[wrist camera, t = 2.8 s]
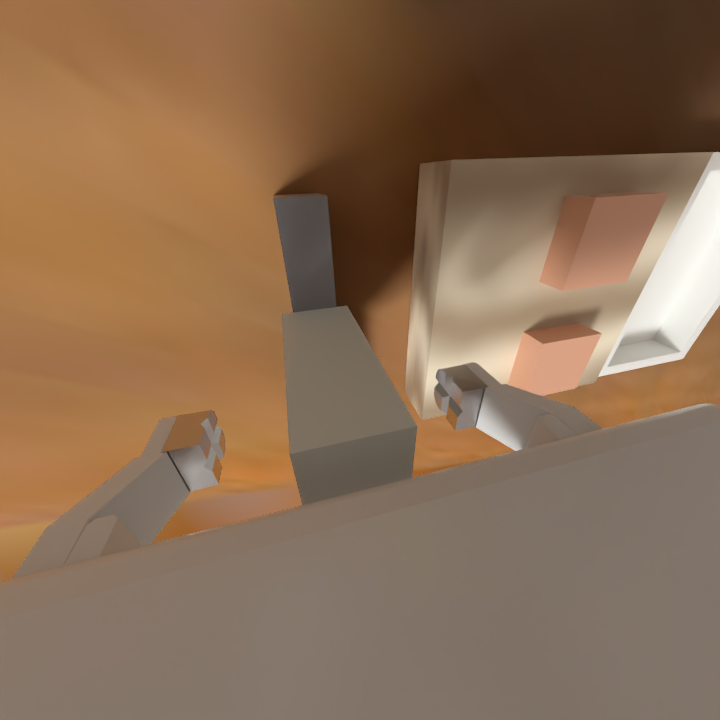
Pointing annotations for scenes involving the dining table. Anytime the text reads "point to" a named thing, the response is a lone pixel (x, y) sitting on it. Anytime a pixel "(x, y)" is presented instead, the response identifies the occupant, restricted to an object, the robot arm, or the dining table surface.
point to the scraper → (333, 372)
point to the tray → (677, 286)
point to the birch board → (520, 257)
